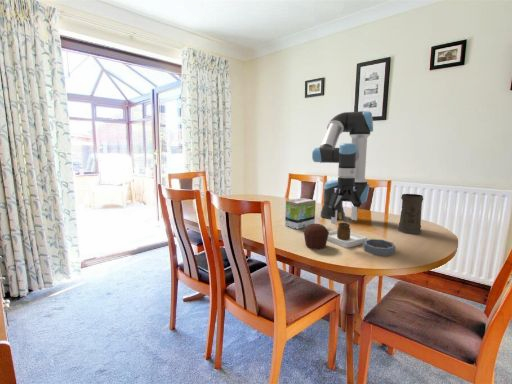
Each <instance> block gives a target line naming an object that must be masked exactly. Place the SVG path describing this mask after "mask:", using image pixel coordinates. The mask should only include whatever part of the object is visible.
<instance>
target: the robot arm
mask: <svg viewBox="0 0 512 384" xmlns="http://www.w3.org/2000/svg"><path fill="white" fill-rule="evenodd" d="M371 132H374V121H373V113H372V112H371V111H364V110H361V111H348V112H346V111H345V112H341V113H339V114H337V115H335V116H334V117H332V118H331V119H330V120H329V122H328V124H327V126H326V132H325V135H324V137H323V138H322V142H321V144H320V146H318V147H314V148H313V149H312V151H311V152H312V154H311V155H312V156H311V158H312V161H313V162H314V163H320V164H322V163H323V164H325V163H326V164H327V163H329V164H331V163H333V164H338V169H337V179H336V180H329V181H326V182H324V188H323V194H324V195H323V205H322V208H321V210H320V217H321V218H324V219H329V220H331V221H330V223H331V224H332V225H337V221H338V220H340V219H339V216H342V219H346V213H345V210H344V206H343V202H346V203H347V202H350V203H351V204H352V206H351V220H353V221H358V211H359V208H360V207H361V206H362V203H366V202H367V200H368V196H369V192H370V191H369V190H370V186H371V185H370V183H368V180H367V179H366V166H367V164H366V163H367V147H368V138H369V136H371ZM343 133H348V134H349V137H351V143H349V142H348V143H340V144H339V147H336V146H337V144H338V140H339V138H340V135H341V134H343ZM339 212H341V214H338V213H339Z"/></svg>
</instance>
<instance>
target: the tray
mask: <svg viewBox="0 0 512 384" xmlns="http://www.w3.org/2000/svg"><path fill="white" fill-rule="evenodd" d="M328 232H329V234H328V238H327V242H330V243H332V244H335V245H338V246H340V247H342V248H344V249H348V248H352V247H356V246H359V245H363V242H364V240H368V237H367V236H364V235H361V234H358V233H355V232H352V231H350V239H348V240H341V239H338V237H337V229H334V230H333V229H332V230H328Z"/></svg>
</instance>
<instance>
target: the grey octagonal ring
mask: <svg viewBox="0 0 512 384" xmlns="http://www.w3.org/2000/svg"><path fill="white" fill-rule="evenodd" d="M362 248H363V250H364V252H366V253H369V254H371V255H374V256H383V257H389V256H392V255H395V254H396V245H395V244H394V242H391V241H388V240H385V239H381V238H380V239H379V238H378V239H376V238H367V240H364V242H363V244H362Z"/></svg>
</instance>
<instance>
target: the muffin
mask: <svg viewBox="0 0 512 384" xmlns="http://www.w3.org/2000/svg"><path fill="white" fill-rule="evenodd" d="M302 232H303V234H304V235H303V236H304V243H305V246H306V247H307V248H308V249H311V250H323V249H325V248H326V246H327V242H328V241H327V238H328V234H329V230H328V229H327V227H325V225H323V224H322V223H314V224H310V225H308V226H307V227H304V229H303V230H302Z"/></svg>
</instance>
